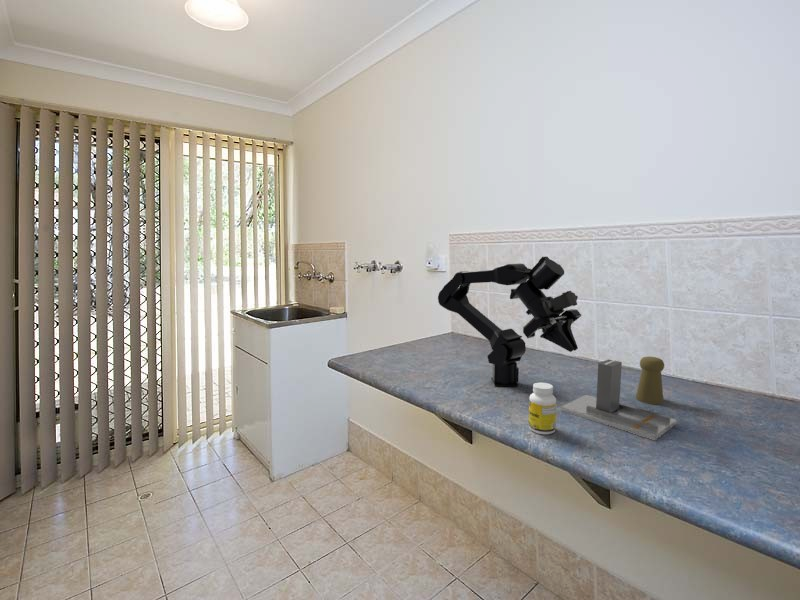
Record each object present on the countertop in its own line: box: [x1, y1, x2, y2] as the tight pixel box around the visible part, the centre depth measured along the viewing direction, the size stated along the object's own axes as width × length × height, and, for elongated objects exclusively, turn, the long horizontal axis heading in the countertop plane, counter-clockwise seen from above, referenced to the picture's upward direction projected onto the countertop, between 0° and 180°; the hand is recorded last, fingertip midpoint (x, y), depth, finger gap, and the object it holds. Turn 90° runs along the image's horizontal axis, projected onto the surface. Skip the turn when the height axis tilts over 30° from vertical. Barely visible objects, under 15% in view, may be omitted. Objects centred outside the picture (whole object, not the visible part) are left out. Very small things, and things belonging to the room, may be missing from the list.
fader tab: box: [596, 359, 623, 412], centre depth 93 cm, size 3×5×11 cm, turn 129°
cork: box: [635, 356, 665, 405], centre depth 101 cm, size 6×6×11 cm
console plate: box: [560, 394, 677, 441], centre depth 92 cm, size 20×12×2 cm, turn 39°
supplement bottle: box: [528, 382, 557, 435], centre depth 85 cm, size 5×5×10 cm
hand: (574, 350), depth 98 cm, fingers closed
